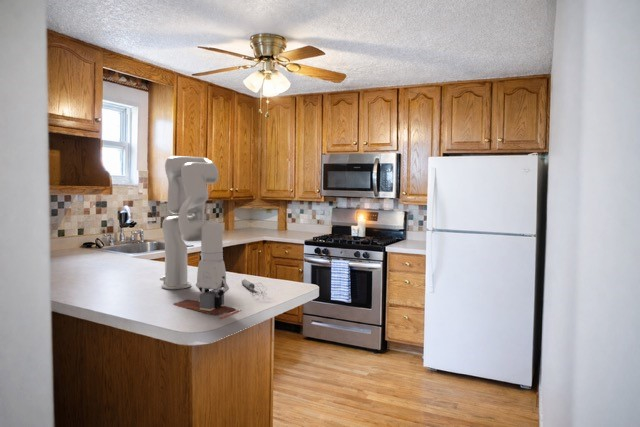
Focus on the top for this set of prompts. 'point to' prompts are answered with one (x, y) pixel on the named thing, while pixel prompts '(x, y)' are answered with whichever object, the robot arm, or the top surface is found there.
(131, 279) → the top surface
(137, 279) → the top surface
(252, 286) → the kitchen whisk
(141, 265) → the top surface
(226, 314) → the carpenter pencil
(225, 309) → the wooden tablet
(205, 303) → the sanding block
